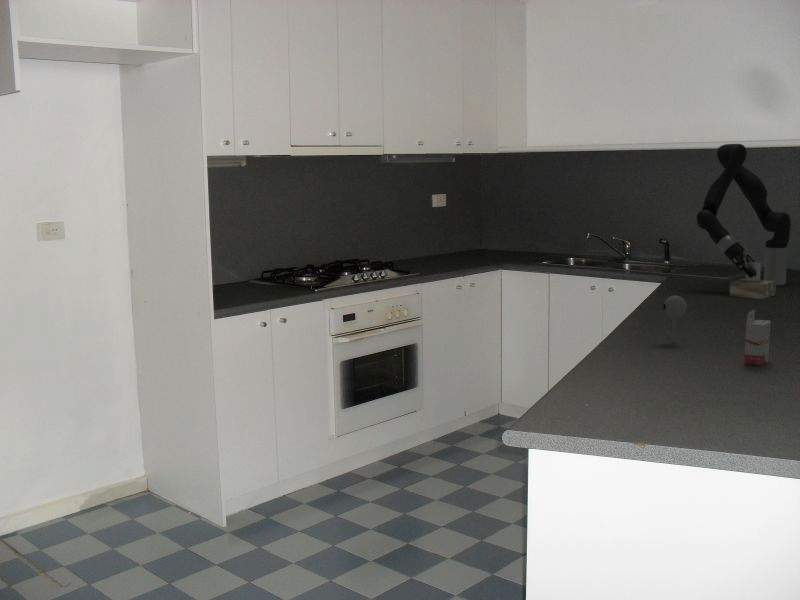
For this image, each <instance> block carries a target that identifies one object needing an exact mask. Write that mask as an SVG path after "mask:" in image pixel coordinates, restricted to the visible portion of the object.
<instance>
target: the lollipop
mask: <svg viewBox="0 0 800 600" xmlns="http://www.w3.org/2000/svg"><path fill="white" fill-rule="evenodd" d="M687 305H688V304H687V302H686V300H685V299H684V298H683V297H682V296H679V295H671V296H668V297H666V298H665V300H664V302H663V307H662V308H663V311H664V313H665V315H666V316H667V317H669V318H671V319H673V322H672V323H673V326H672V327H673V328H672V343H673V342H675V343H676V322H677V321H676V320H677V319H679V318H681V317H683V316H684V315H685V313H686V312H687V309H688V306H687Z"/></svg>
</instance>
